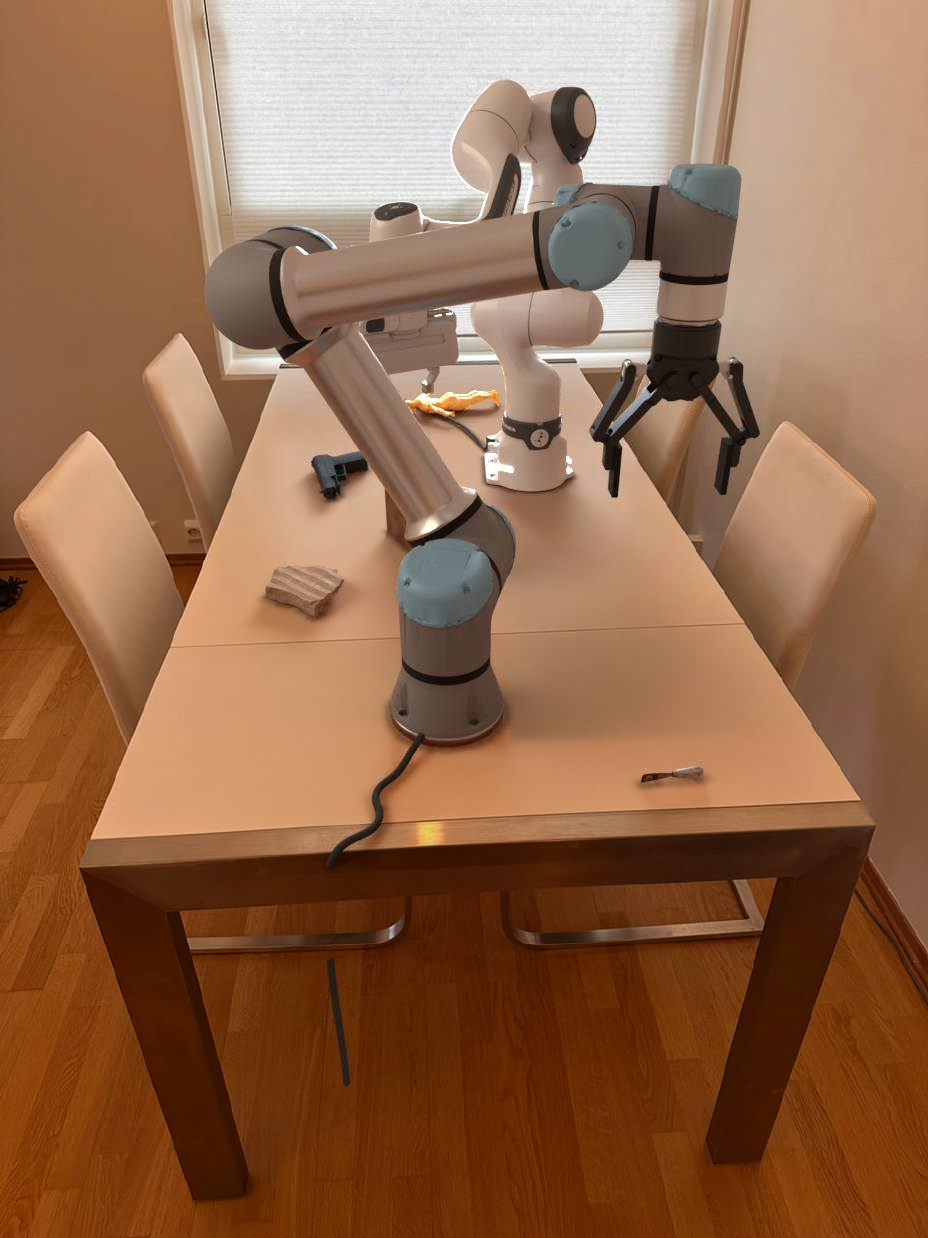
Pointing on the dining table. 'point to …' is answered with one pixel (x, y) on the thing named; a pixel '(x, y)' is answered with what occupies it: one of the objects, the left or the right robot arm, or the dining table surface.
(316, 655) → the dining table surface
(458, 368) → the dining table surface
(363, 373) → the left robot arm
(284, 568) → the stone
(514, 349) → the right robot arm
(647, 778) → the putty knife
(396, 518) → the bar
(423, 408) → the human figure
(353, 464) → the handgun
